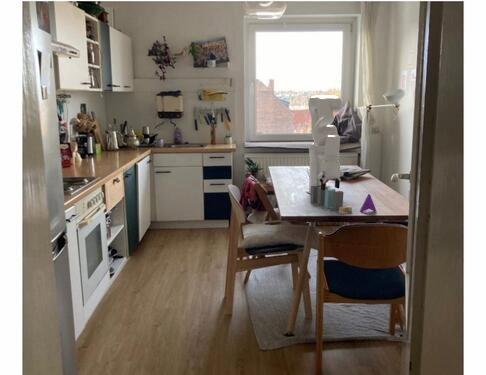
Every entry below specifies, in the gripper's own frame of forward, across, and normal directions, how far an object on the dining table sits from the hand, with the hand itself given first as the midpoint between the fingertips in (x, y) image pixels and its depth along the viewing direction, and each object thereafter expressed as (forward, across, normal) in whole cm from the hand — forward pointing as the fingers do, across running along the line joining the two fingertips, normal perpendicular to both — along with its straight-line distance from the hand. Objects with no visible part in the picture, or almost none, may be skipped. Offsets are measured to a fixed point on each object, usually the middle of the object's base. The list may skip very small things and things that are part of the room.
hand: (330, 188), depth 242 cm
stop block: (+10, +1, +14) cm, 17 cm away
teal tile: (+10, +1, +1) cm, 10 cm away
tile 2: (+10, +1, -5) cm, 12 cm away
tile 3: (+10, +1, +8) cm, 13 cm away
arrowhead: (+10, -11, +18) cm, 24 cm away
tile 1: (+11, +1, -12) cm, 16 cm away
